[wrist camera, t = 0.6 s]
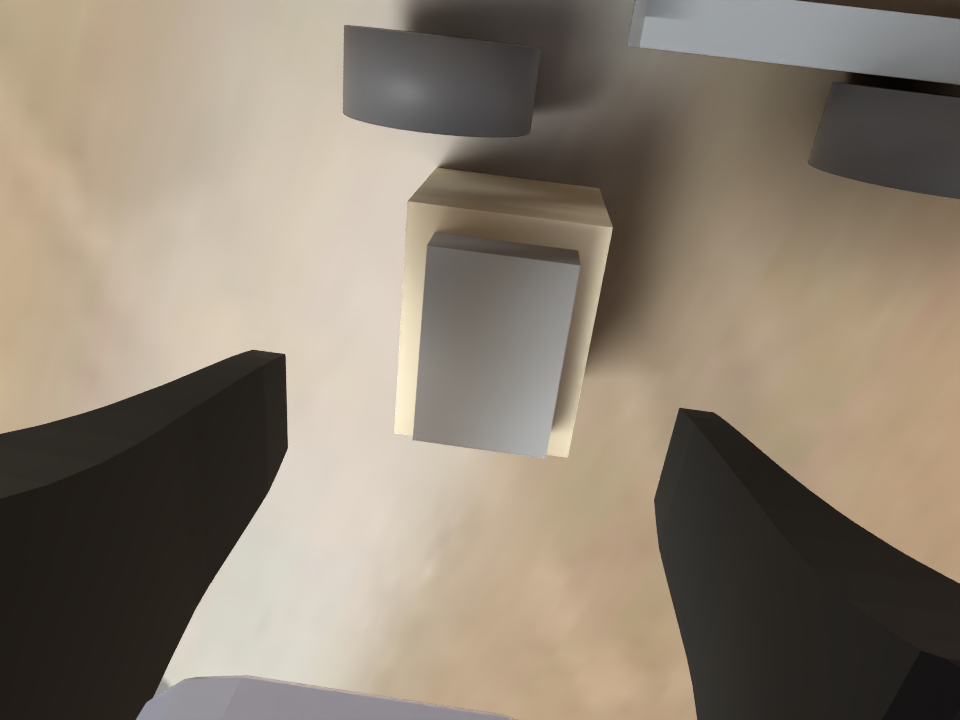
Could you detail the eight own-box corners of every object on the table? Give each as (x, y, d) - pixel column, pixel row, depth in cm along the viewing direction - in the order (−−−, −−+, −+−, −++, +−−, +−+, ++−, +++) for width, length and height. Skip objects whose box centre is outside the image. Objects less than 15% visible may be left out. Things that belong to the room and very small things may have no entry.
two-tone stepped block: (598, 187, 18) (617, 241, 13) (563, 379, 21) (568, 483, 16) (437, 167, 19) (397, 213, 14) (422, 360, 21) (384, 457, 16)
